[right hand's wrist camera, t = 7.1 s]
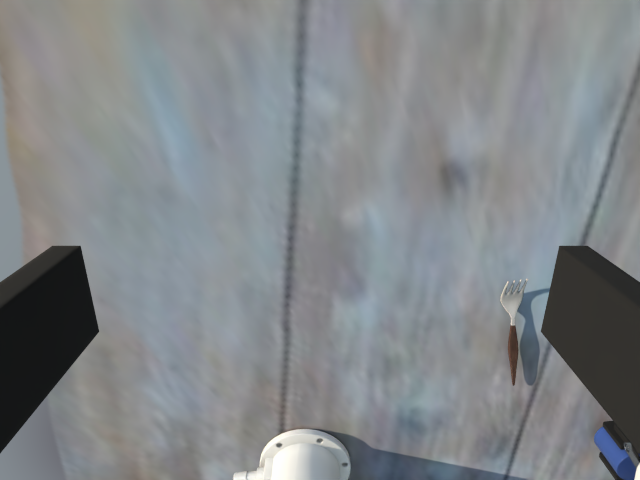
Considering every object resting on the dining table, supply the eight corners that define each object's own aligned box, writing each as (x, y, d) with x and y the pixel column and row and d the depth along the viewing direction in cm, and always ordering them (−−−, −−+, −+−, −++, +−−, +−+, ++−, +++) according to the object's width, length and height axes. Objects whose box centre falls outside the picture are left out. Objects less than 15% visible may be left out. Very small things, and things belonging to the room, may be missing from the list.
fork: (501, 384, 58) (507, 394, 56) (499, 274, 52) (506, 282, 50) (522, 381, 57) (528, 392, 56) (522, 270, 51) (530, 278, 50)
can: (594, 451, 61) (617, 483, 56) (592, 427, 59) (616, 458, 54) (629, 444, 60) (654, 476, 56) (628, 419, 59) (654, 450, 54)
